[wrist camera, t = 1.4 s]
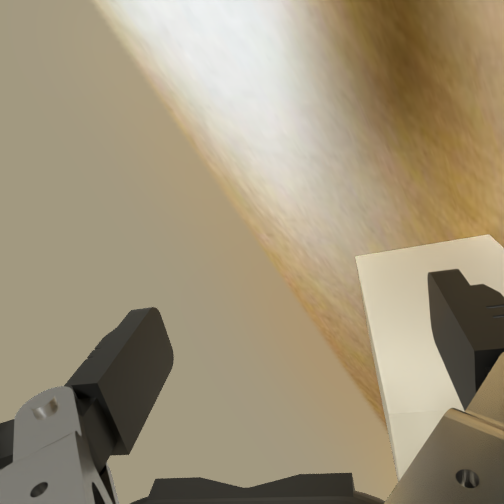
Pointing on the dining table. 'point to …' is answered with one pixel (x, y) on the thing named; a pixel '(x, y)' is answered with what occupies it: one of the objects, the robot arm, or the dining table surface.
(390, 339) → the pedestal
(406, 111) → the dining table surface
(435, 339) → the robot arm
